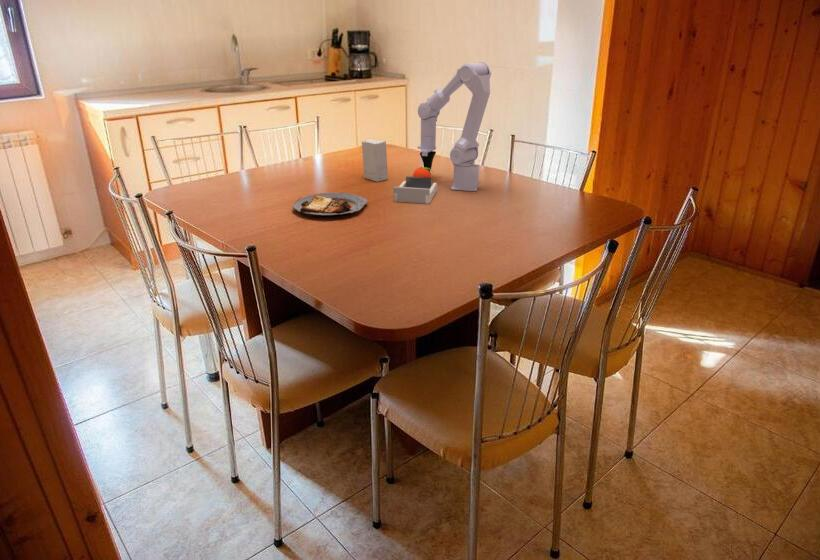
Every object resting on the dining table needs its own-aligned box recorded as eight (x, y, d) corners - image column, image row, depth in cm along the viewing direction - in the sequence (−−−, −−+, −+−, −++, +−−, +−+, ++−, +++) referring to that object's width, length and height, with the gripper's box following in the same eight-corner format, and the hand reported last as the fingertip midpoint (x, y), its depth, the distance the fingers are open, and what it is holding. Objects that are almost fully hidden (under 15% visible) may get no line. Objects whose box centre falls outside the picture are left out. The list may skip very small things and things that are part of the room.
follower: (431, 191, 213) (431, 177, 211) (430, 192, 212) (431, 178, 210) (406, 190, 215) (406, 176, 213) (405, 191, 214) (405, 177, 212)
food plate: (353, 222, 183) (353, 211, 181) (283, 218, 187) (282, 208, 186) (373, 200, 205) (373, 191, 204) (310, 198, 209) (309, 188, 208)
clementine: (434, 183, 224) (434, 164, 221) (433, 188, 218) (433, 169, 215) (413, 182, 225) (413, 164, 222) (411, 187, 219) (411, 168, 216)
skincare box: (388, 179, 229) (387, 141, 223) (376, 182, 225) (375, 143, 219) (374, 175, 234) (373, 138, 228) (362, 178, 231) (361, 140, 224)
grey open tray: (436, 190, 215) (437, 177, 213) (428, 203, 201) (429, 189, 199) (403, 188, 217) (403, 175, 215) (393, 201, 203) (393, 187, 201)
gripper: (421, 131, 229) (421, 165, 235) (414, 138, 217) (413, 174, 222) (439, 132, 228) (438, 166, 234) (432, 139, 215) (432, 175, 221)
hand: (427, 170), depth 228 cm, fingers closed
